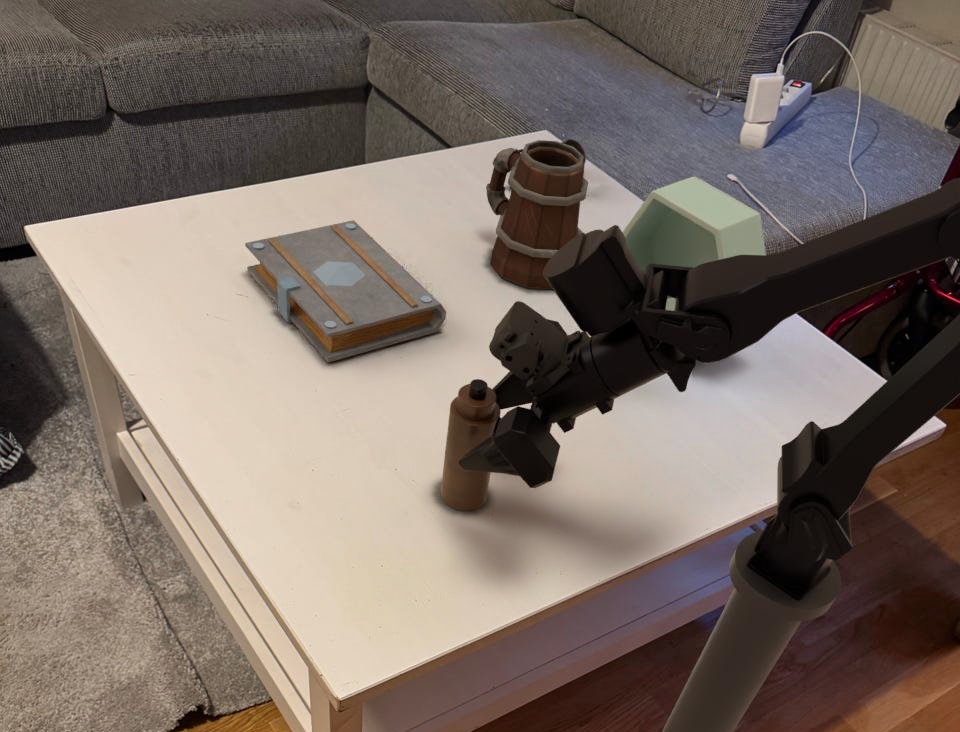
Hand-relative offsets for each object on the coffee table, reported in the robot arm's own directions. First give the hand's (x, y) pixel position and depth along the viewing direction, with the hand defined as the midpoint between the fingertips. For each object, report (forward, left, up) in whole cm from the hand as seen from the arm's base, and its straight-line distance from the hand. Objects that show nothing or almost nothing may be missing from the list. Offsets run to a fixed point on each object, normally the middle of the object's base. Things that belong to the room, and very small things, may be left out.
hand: (471, 435), depth 89 cm
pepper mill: (0, 0, -8) cm, 8 cm away
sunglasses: (+42, -60, -8) cm, 74 cm away
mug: (+28, -40, -8) cm, 49 cm away
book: (+34, -13, -8) cm, 37 cm away
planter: (+4, -42, -8) cm, 43 cm away
